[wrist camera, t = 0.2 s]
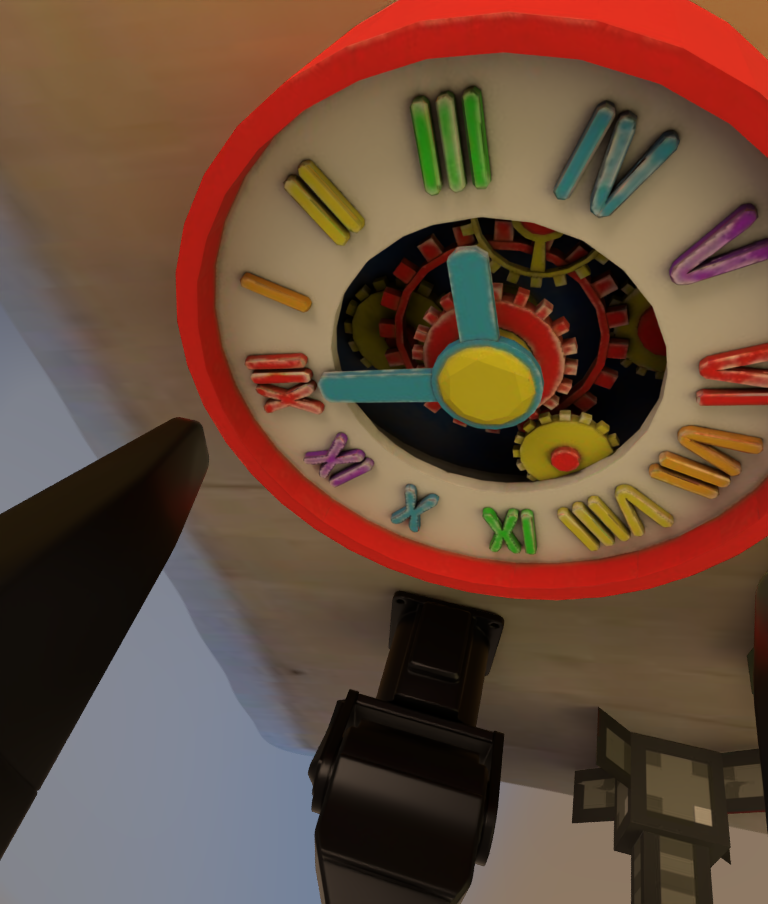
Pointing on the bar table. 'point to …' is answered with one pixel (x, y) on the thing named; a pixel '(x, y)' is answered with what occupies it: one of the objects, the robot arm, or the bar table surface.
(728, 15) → the bar table surface
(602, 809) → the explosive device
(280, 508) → the bar table surface
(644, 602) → the bar table surface
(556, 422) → the toy clock
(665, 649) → the bar table surface
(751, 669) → the button box
